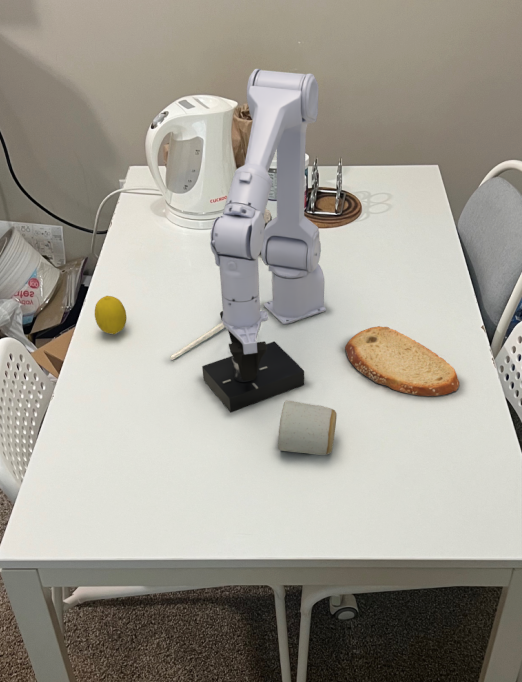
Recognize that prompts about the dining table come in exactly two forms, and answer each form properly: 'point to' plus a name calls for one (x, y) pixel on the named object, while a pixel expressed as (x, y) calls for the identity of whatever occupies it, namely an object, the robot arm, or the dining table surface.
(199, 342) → the fork
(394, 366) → the bread slice
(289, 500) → the dining table surface
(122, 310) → the lemon
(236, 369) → the hob knob
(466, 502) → the dining table surface
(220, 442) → the dining table surface
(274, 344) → the black knob base
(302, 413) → the ceramic mug
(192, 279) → the dining table surface
